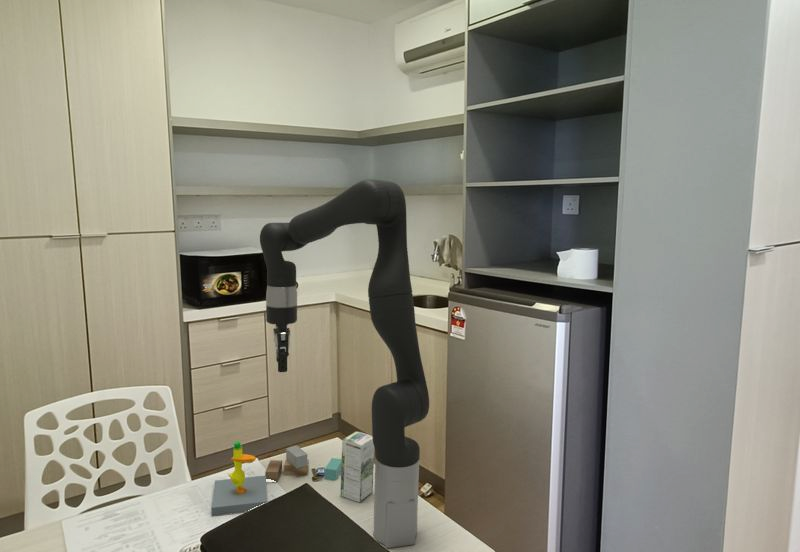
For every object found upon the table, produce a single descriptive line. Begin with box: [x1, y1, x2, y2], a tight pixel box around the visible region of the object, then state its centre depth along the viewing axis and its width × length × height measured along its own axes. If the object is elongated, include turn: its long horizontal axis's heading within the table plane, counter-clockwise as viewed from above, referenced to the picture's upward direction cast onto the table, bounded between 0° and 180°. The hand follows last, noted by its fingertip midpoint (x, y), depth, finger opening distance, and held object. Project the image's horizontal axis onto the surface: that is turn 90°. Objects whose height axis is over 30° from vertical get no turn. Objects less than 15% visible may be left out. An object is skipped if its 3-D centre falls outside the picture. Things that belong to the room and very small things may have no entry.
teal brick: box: [324, 457, 342, 481], centre depth 139 cm, size 6×3×3 cm, turn 170°
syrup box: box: [339, 431, 375, 503], centre depth 128 cm, size 6×6×14 cm
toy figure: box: [227, 441, 257, 494], centre depth 124 cm, size 7×4×12 cm, turn 85°
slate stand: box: [211, 474, 268, 517], centre depth 126 cm, size 12×12×2 cm
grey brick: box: [285, 444, 308, 468], centre depth 139 cm, size 6×3×3 cm, turn 37°
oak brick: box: [283, 459, 310, 476], centre depth 139 cm, size 6×3×3 cm, turn 94°
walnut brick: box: [264, 459, 283, 483], centre depth 137 cm, size 6×3×3 cm, turn 1°
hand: (281, 366), depth 135 cm, fingers open, 8 cm apart
